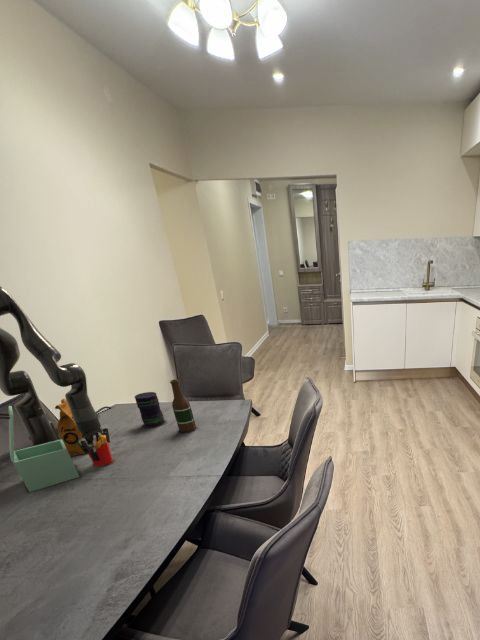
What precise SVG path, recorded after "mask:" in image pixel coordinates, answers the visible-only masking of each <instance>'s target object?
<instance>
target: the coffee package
mask: <svg viewBox="0 0 480 640" xmlns="http://www.w3.org/2000/svg"><path fill="white" fill-rule="evenodd" d="M54 409H55V410H59V419H58V422H57V428H58V433H59V435H58V436H59V438H60V440H61V439H62V440H63V442H64V444H65V447H66V449H67V451H68V453H69V455H70V457H72V456H79V455H85V454H86V453H84V451H83V450H82V449H81V447H80V446H79V445H78V443H77V441H78V440H81V439H82V433H81V432H80V431H79V430H78V428H77V426H76V423H75V421H74V419H73V416H72V413H71V410H70V407H69V405H68V403H67V400H66V398H62V399H61V401H60V403H59V404H57V405H55V407H54Z"/></svg>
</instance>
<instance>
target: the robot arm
mask: <svg viewBox="0 0 480 640" xmlns="http://www.w3.org/2000/svg"><path fill="white" fill-rule="evenodd" d="M8 314H10V315H11V316H12V317H13V319H14V320H15V321H16V323H17V325H18V329H19V332H20V333H19V334H20V339H21V342H22V344H23V346H24V347H25V349H26V350H27V351H28V352H29V353H30V354H31V355H32V356H33V357H34V358H35V359H36V360H37V361H38V362H39V363H40V364H41V366H42V367H43V369H44V371H45V372H46V373H47V376H48V377H49V379H50V380H51V381H52V383H53V384H55V385H57V386H58V387H61V388H66V387H69V386H70V390H68V391H67V392H66V393H65V394H64V398H65V399H66V400H67V403H68V405H69V407H70V410H71V413H72V416H73V419H74V421H75V423H76V426H77V428H78V430H79V431H80V432H81V433H82V439H81V440H78V441H77V443H78V445H79V446H80V447H81V449H82V450H83V451H84V453H85V454H88V453H90V454H91V456H92V458H93V460H95V461H99V460H100V458H99V456H98V453H97V452H96V446H97V445H96V442H98V437H99V436H100V435H101V436H102V435H106V440H107V441H108V444H110V443H111V440H110V433H109V429H108V428H107V427H102V425H101V423H100V420H99V415H98V414H99V413H100V412H101V411H103V410H105V409H108V410H109V409H112V407H111V406H107V405H106V406H102V407H101V408H99V409H98V410H97V411H95V410H96V409H95V408H94V406H93V404H92V402H91V400H90V397H89V395H88V384H87V376H86V372H85V371H84V369H83V368H82V367H81V366H80V365H79V364H78V363H74V362H70V363H66V364H62V365H59V364H58V363H59V362H60V361H61V360H62V354H61V352H60V351H59V350H58V349H57V348H56V347H55V346H54V345H53V344H52V343H51V342H50V341H49V340H48V339H47V338H46V337H45V336H44V335H43V334H42V333H41V331H40V330H38V328H37V327H36V326H35V323H33V322H32V321H31V319H30V317H29V316H28V315H27V314H26V312H25V311H24V310H23V309H22V308H21V306H20V305H19V304H18V302H17V301H16V300H15V299H14V298H13V296H12V295H11V294H10V293H9V292H8V291H7V290H6V289H5V288H4V287H2V286H0V317H2V316H5V315H8ZM20 358H21V351H20V348H19V343H18V341H17V339H16V338H15V337H14V336H13V334H11V333H10V332H9V331H7V330H5V329H4V328H3V327H2V328H1V327H0V391H1V392H2V394H4V395H5V396H7V397H14V396H19V395H25V396H24V397H23V398H22V399H21V400H19V401H18V402H16V403H15V404H14V410H15V411H16V413H17V416H18V417H19V419H20V422H21V423H22V425H23V427H24V429H25V431H26V433H27V435H28V439H29V441H31V443H32V445H33V446H37V445H41V444H45V443H49V442H53V441H57V440H61V437H60V435H59V433H58V427H55V426H54V423H53V422H52V421H50V420H49V417H48V415H47V413H46V411H45V409H44V407H43V405H42V402H41V400H40V398H39V396H38V394H37V391H36V388H35V386H34V382H33V380H32V379H31V376H30V375H29V374H28V373H27V372H26V371H25V370H15V371H12V369H14V367H15V366H16V365H17V363H18V361H19V360H20ZM99 438H100V437H99ZM96 439H97V441H96ZM89 443H92V445H89ZM91 447H92V449H91Z"/></svg>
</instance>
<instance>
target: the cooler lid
mask: <svg viewBox="0 0 480 640" xmlns="http://www.w3.org/2000/svg"><path fill="white" fill-rule="evenodd" d="M0 420H8V441H9V442H8V443H9V444H8V445H9V446H8V447H9V457H10V462H12V463H13V462H14V451H15V431H14V429H15V428H14V427H15V422H14V421H15V420H14V411H13V407H12V405H8V413H2V412H0Z"/></svg>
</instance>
